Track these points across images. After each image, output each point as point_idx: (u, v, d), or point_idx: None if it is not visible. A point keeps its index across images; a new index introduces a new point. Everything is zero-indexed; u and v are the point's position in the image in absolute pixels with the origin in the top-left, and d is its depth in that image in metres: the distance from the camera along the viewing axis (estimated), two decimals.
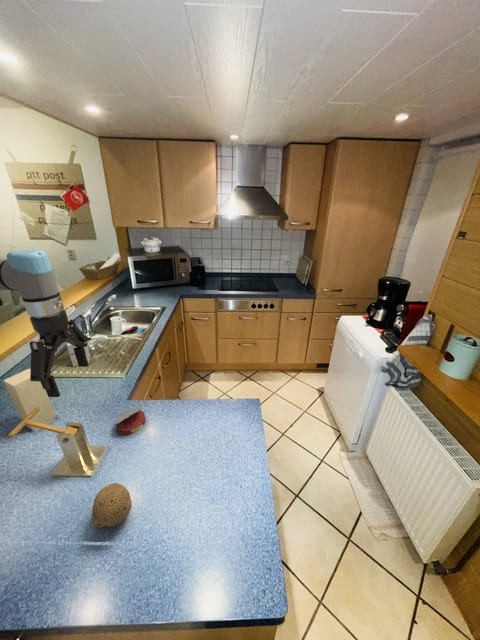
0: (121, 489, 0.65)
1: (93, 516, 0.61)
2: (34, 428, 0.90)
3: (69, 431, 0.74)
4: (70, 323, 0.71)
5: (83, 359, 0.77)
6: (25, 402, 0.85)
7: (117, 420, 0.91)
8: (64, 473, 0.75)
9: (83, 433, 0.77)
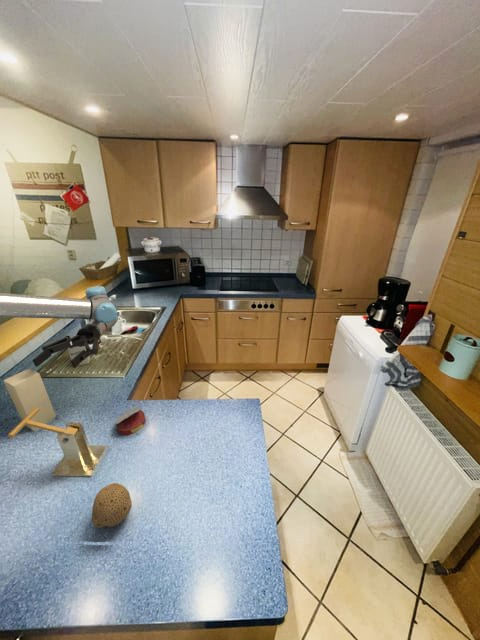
0: (121, 489, 0.65)
1: (93, 516, 0.61)
2: (34, 428, 0.90)
3: (69, 431, 0.74)
4: (69, 341, 0.98)
5: (43, 360, 0.87)
6: (25, 402, 0.85)
7: (117, 420, 0.91)
8: (64, 473, 0.75)
9: (83, 433, 0.77)
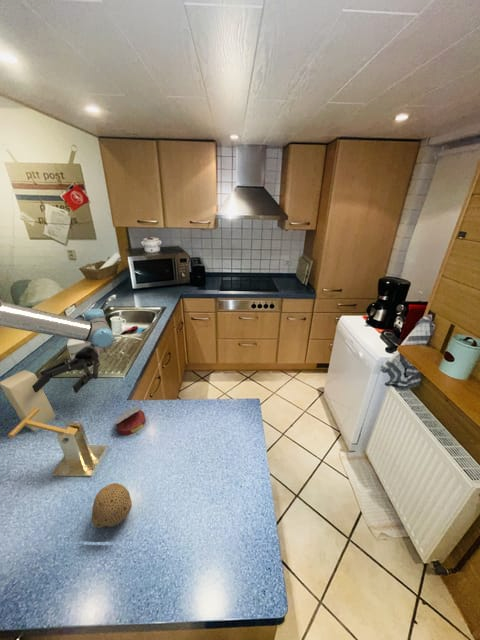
0: (121, 489, 0.65)
1: (93, 516, 0.61)
2: (34, 428, 0.89)
3: (69, 431, 0.74)
4: None
5: (42, 385, 0.87)
6: (22, 404, 0.85)
7: (117, 420, 0.91)
8: (64, 473, 0.75)
9: (83, 433, 0.77)
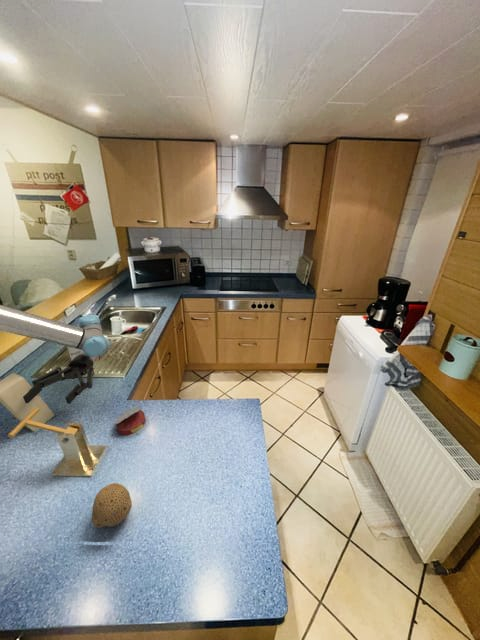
0: (121, 489, 0.65)
1: (93, 516, 0.61)
2: (33, 429, 0.89)
3: (69, 431, 0.74)
4: None
5: (33, 396, 0.83)
6: (16, 408, 0.83)
7: (117, 420, 0.91)
8: (64, 473, 0.75)
9: (83, 433, 0.77)
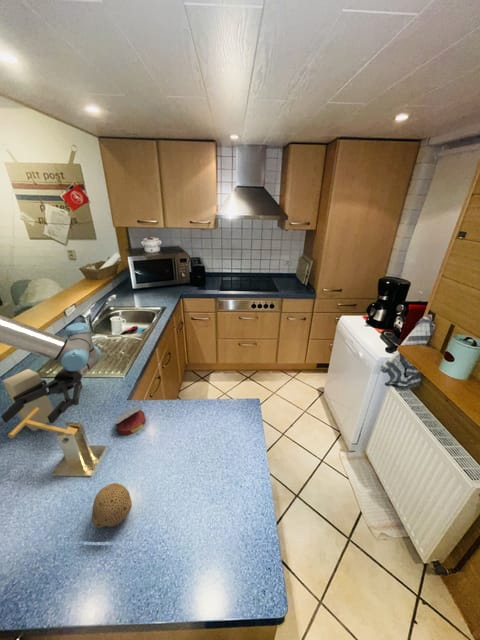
0: (121, 489, 0.65)
1: (93, 516, 0.61)
2: (34, 428, 0.90)
3: (69, 431, 0.74)
4: None
5: (13, 414, 0.76)
6: None
7: (117, 420, 0.91)
8: (64, 473, 0.75)
9: (83, 433, 0.77)
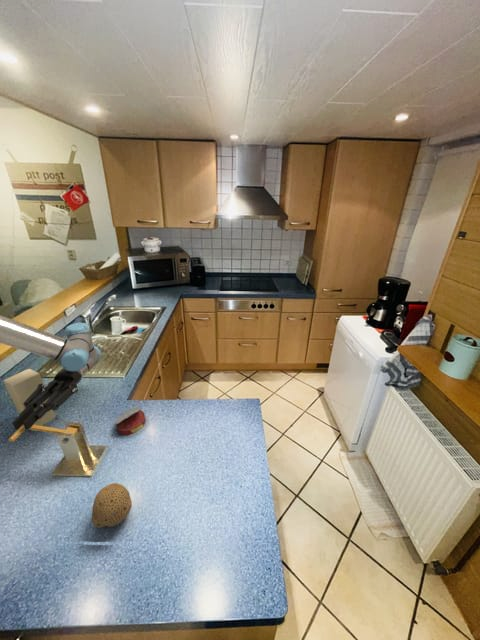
0: (121, 489, 0.65)
1: (93, 516, 0.61)
2: None
3: (68, 431, 0.74)
4: None
5: (24, 420, 0.74)
6: None
7: (117, 420, 0.91)
8: (64, 473, 0.75)
9: (83, 433, 0.77)
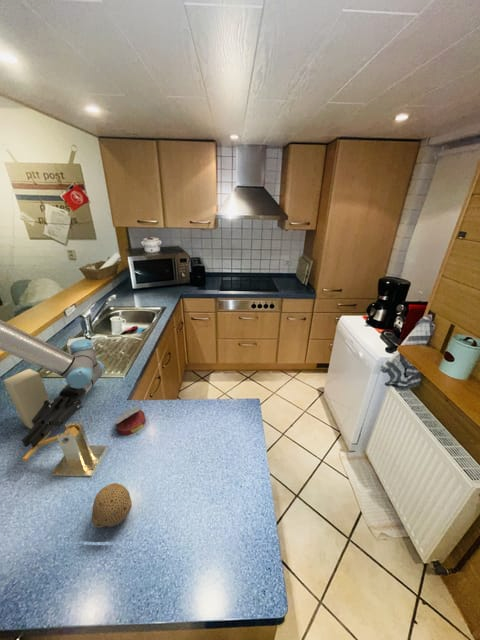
0: (121, 489, 0.65)
1: (93, 516, 0.61)
2: None
3: (66, 432, 0.74)
4: None
5: None
6: (25, 402, 0.85)
7: (117, 420, 0.91)
8: (64, 473, 0.75)
9: (83, 433, 0.77)
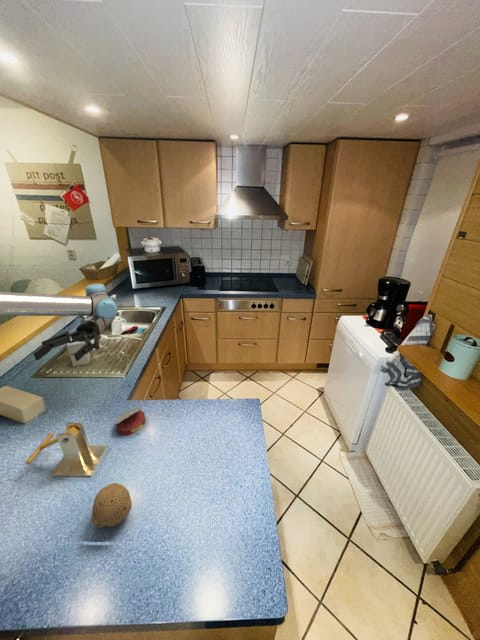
0: (121, 489, 0.65)
1: (93, 516, 0.61)
2: (19, 407, 0.91)
3: (66, 432, 0.74)
4: None
5: (43, 354, 0.87)
6: (0, 399, 0.95)
7: (117, 420, 0.91)
8: (64, 473, 0.75)
9: (83, 433, 0.77)
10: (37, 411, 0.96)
